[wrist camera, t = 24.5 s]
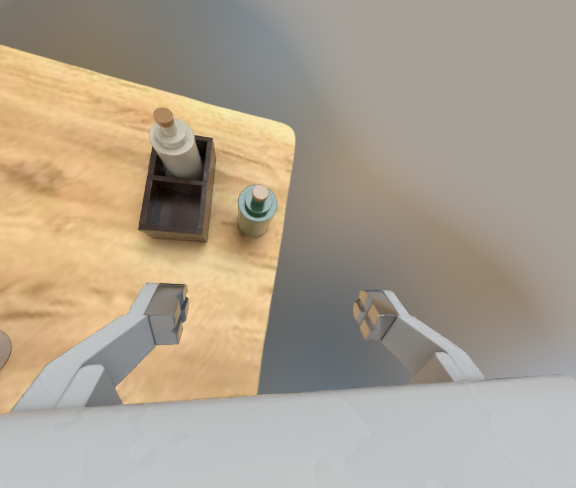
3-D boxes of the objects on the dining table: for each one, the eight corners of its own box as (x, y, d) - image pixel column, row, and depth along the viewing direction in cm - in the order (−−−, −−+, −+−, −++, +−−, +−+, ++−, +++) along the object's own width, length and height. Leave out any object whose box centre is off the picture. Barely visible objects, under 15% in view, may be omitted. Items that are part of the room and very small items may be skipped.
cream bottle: (164, 175, 38) (125, 116, 25) (184, 153, 40) (158, 86, 27) (191, 194, 39) (167, 145, 26) (211, 171, 40) (198, 114, 27)
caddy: (207, 242, 38) (202, 234, 33) (153, 238, 37) (137, 229, 31) (216, 157, 42) (212, 137, 36) (166, 150, 40) (155, 128, 35)
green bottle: (231, 226, 40) (228, 195, 27) (249, 202, 42) (254, 163, 28) (257, 243, 40) (267, 221, 27) (274, 219, 42) (290, 187, 29)
